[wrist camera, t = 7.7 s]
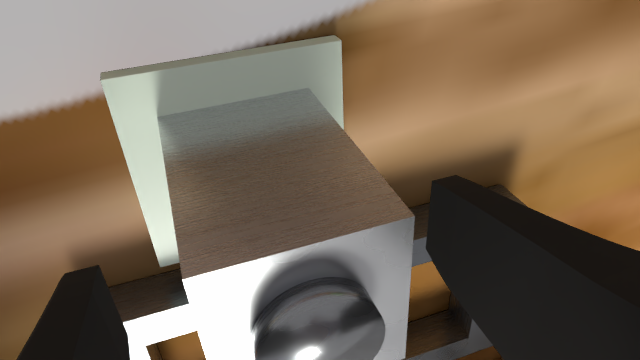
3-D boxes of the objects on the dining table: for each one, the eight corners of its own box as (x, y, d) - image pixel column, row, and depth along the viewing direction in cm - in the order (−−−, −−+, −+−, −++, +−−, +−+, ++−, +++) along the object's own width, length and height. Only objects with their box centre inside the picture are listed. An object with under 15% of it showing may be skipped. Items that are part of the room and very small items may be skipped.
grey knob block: (189, 237, 15) (230, 450, 9) (157, 116, 12) (186, 307, 7) (317, 205, 16) (418, 381, 10) (308, 87, 13) (432, 237, 8)
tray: (159, 256, 15) (160, 267, 15) (100, 72, 12) (100, 80, 11) (340, 210, 17) (345, 218, 16) (334, 35, 13) (341, 40, 13)
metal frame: (143, 429, 19) (145, 469, 18) (80, 294, 15) (77, 335, 14) (475, 317, 23) (496, 344, 22) (500, 184, 19) (529, 208, 17)
